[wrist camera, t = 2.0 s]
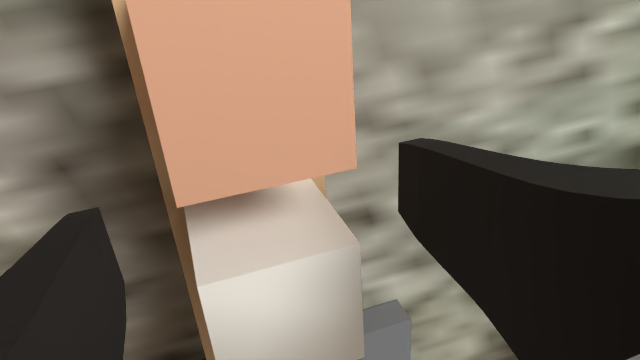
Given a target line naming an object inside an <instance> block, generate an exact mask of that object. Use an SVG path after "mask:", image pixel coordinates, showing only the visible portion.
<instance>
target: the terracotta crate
mask: <svg viewBox="0 0 640 360" xmlns="http://www.w3.org/2000/svg"><path fill="white" fill-rule="evenodd" d="M125 1H126V5H127V9H128V13H129V17H130V21H131V25H132V29H133V33H134V37H135V41H136V45H137V49H138V53H139V57H140V61H141V65H142V69H143V73H144V77H145V81H146V85H147V89H148V93H149V97H150V101H151V105H152V109H153V113H154V118H155V122H156V126H157V130H158V134H159V138H160V142H161V146H162V150H163V154H164V158H165V162H166V166H167V170H168V174H169V178H170V182H171V186H172V190H173V194H174V198H175V202H176V206H177V208H179V207H184V206H188V205H193V204H197V203H202V202H206V201H211V200H215V199H220V198H224V197H229V196H233V195H238V194H242V193H247V192H251V191H256V190H261V189H265V188H270V187H274V186H279V185H283V184H288V183H292V182H297V181H301V180H306V179H310V178H315V177H319V176H324V175H328V174H333V173H338V172H342V171H347V170H351V169H356V168H357V160H356V135H355V109H354V83H353V57H352V32H351V6H350V0H125Z"/></svg>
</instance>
